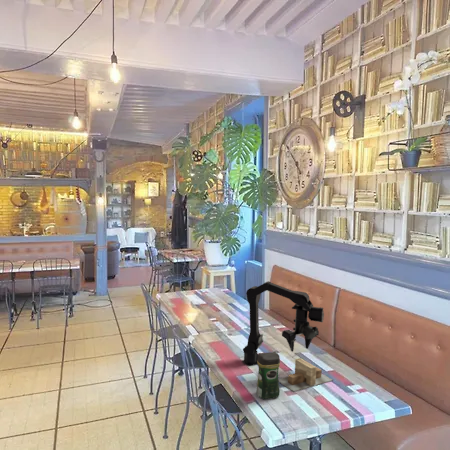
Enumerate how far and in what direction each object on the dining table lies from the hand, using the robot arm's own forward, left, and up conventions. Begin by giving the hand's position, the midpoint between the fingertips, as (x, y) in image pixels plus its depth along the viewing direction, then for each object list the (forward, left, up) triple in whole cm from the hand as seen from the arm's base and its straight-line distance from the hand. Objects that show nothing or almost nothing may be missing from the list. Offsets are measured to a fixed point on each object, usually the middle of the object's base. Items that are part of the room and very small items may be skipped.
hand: (299, 350), depth 182 cm
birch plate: (-3, -7, -11) cm, 14 cm away
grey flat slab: (-3, -7, -12) cm, 14 cm away
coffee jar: (-27, -11, -12) cm, 31 cm away
